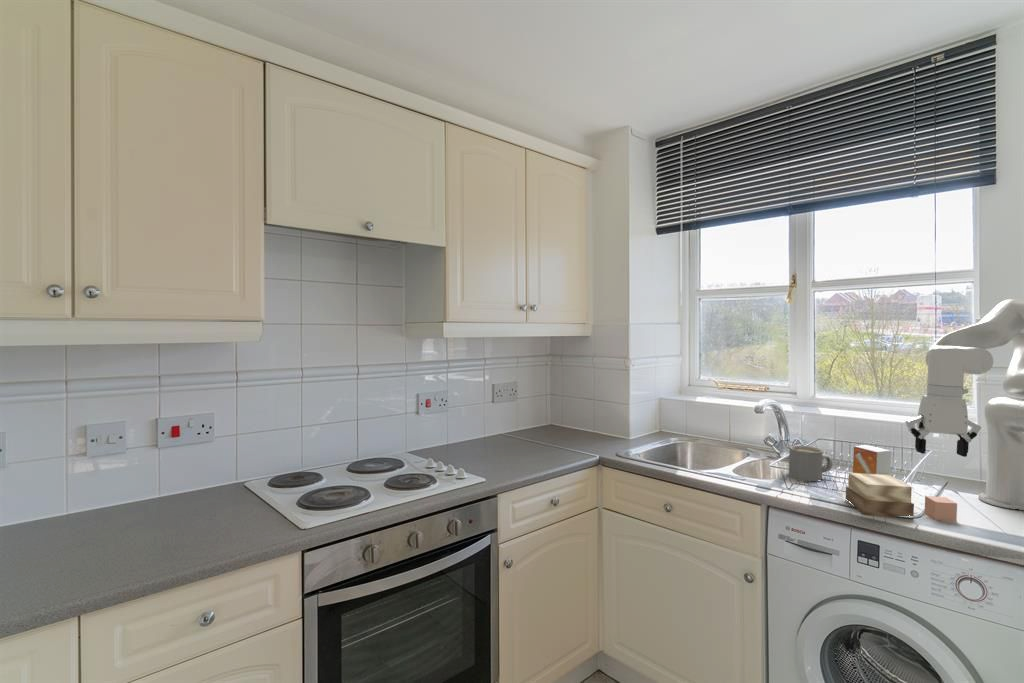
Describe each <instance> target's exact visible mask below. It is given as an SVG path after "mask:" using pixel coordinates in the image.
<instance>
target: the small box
mask: <svg viewBox="0 0 1024 683" xmlns="http://www.w3.org/2000/svg"><path fill="white" fill-rule="evenodd" d="M852 460H853V461H852V473H862V474H879V475H891V464H892V463H891V462H892V450H890V449H885V448H881V447H877V446H873V445H869V444H861V445H854V446H853V458H852Z"/></svg>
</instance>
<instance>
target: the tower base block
mask: <svg viewBox="0 0 1024 683" xmlns="http://www.w3.org/2000/svg"><path fill="white" fill-rule="evenodd" d="M846 499H847V500H848V501H850V502H851V503H852V504H853V505H854V506H855V507H856V508H857V509H858V510H859V511H858V510H857V509H856V508H855V507H854V508H855V509H856V510H857V511H858V512H860V513H861V514H862V515H863V516H871V517H875V516H876V517H884V518H885V517H886V518H896V517H897V516H898V517H899V516H909V515H910V516H913V517H914V515H915V514H914V513H915V504H914V503H913V502H911V503H901V502H886V501H871V500H865V499H864V498H863V497H861V496H860V495H858V494H857V493H855V492H854V491H853V490H851V489H850V488H848V486H846V487H845V500H846ZM895 516H896V517H895Z"/></svg>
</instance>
